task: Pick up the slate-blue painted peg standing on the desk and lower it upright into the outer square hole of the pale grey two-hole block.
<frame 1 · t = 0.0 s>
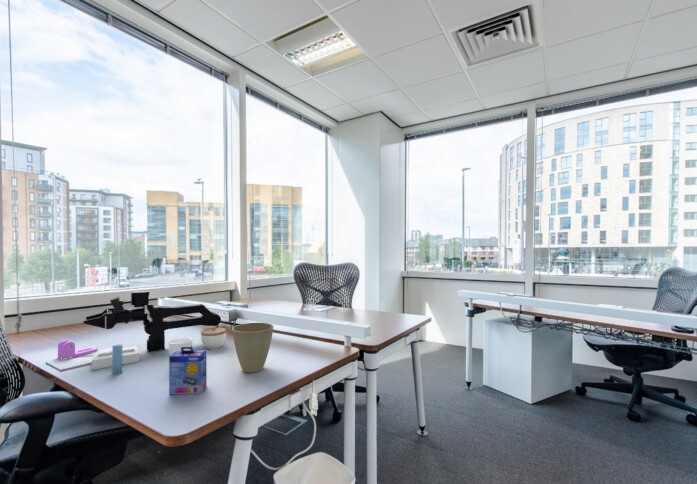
hand: (84, 320, 132), 17 cm above the table, tool horizontal, fingers open, 9 cm apart
lidded jar: (213, 347, 148), on the table
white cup: (180, 367, 124), on the table
hole block: (116, 361, 130), on the table
peg: (117, 372, 118), on the table
bracket: (79, 355, 140), on the table
ink cartridge box: (188, 391, 103), on the table
plant pot: (253, 370, 121), on the table
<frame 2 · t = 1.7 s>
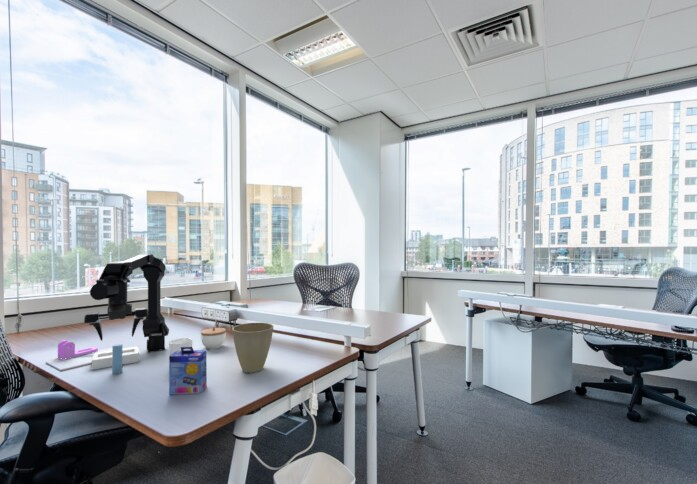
hand: (117, 338, 118), 13 cm above the table, tool pointing down, fingers open, 9 cm apart
nothing on the table moved.
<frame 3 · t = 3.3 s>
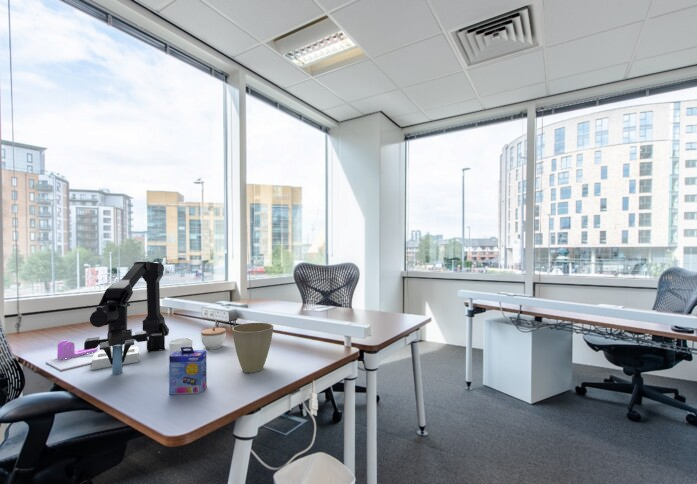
hand: (117, 363, 118), 4 cm above the table, tool pointing down, fingers closed on peg, 3 cm apart
peg: (117, 372, 118), on the table, touching gripper
everything else where it was.
when the fingers open (4 cm above the table, at t = 7.2 s): peg stays where it is, resting in hole block.
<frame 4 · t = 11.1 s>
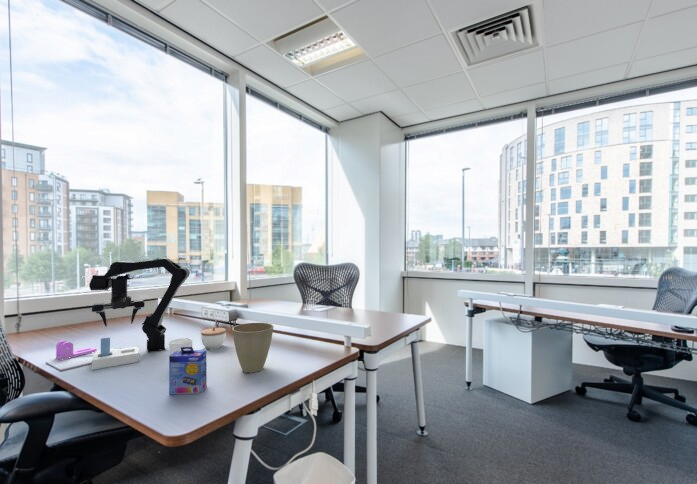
hand: (119, 325, 142), 12 cm above the table, tool pointing down, fingers open, 9 cm apart
peg: (105, 363, 128), resting in hole block
everything else where it was.
at the end: peg 0.0 cm from the target spot on the hole block, point 0.0 cm above the hole block's base; peg tilted 0°; the gripper is holding nothing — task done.
